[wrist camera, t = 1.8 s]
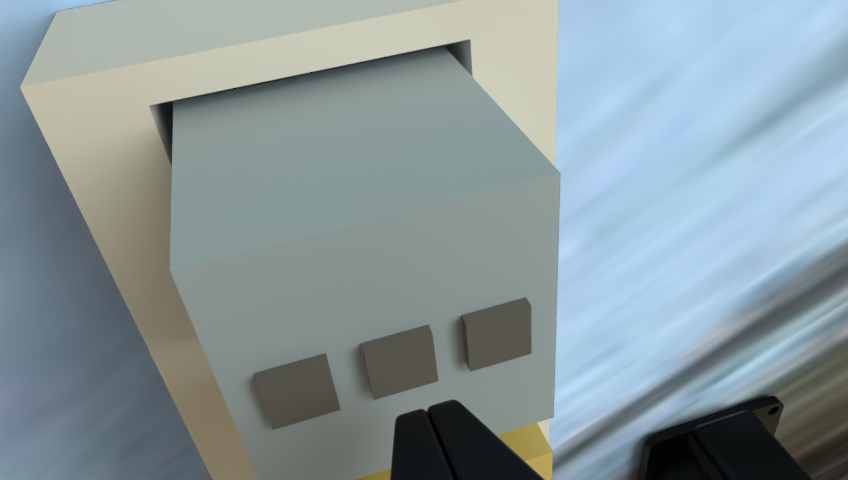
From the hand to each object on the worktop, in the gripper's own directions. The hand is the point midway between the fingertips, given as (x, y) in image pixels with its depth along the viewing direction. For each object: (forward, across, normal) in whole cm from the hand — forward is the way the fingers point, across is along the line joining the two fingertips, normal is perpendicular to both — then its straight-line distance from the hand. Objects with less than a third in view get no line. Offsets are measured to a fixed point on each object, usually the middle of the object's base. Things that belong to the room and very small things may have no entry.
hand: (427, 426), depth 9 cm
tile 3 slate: (+6, 0, 0) cm, 6 cm away
